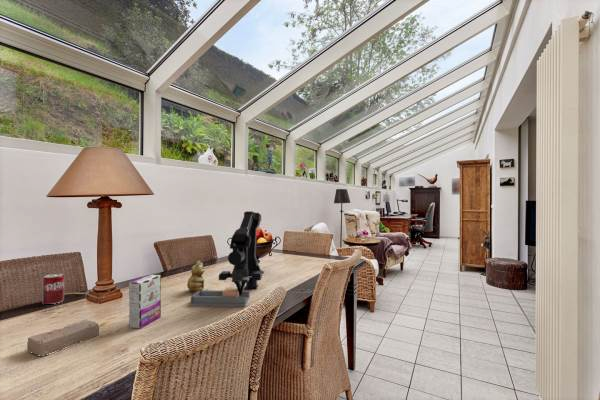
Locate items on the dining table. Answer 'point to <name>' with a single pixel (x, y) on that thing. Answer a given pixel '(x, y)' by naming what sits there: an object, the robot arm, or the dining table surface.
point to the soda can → (53, 289)
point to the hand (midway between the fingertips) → (240, 294)
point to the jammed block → (231, 292)
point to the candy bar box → (144, 301)
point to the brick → (62, 337)
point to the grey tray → (218, 299)
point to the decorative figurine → (196, 277)
